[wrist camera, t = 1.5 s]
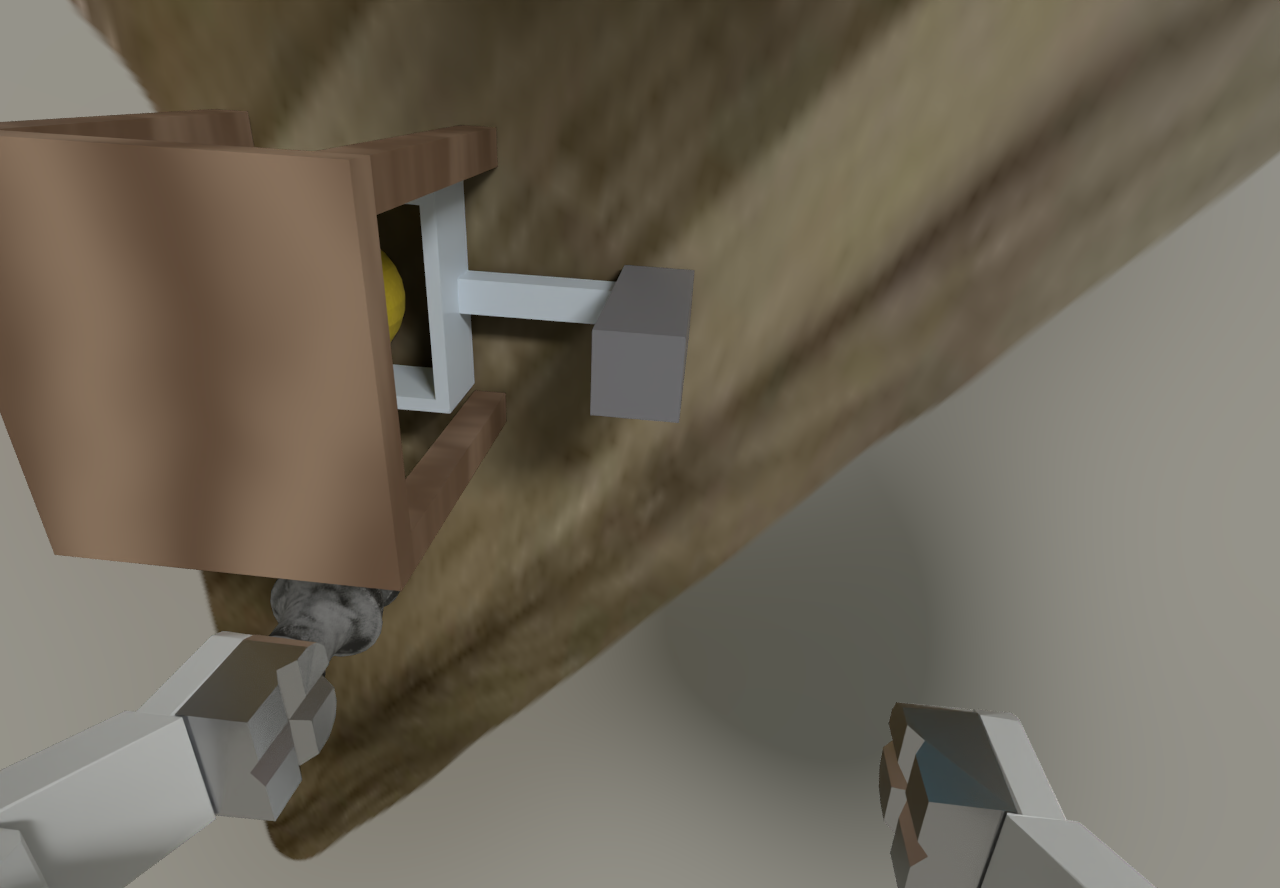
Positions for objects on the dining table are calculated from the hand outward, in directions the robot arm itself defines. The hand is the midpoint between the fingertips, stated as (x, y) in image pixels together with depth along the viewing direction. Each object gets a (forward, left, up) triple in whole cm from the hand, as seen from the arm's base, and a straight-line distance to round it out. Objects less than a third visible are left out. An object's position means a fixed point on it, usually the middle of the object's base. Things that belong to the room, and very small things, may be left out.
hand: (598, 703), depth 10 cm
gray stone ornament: (+3, -24, -24) cm, 34 cm away
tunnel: (-8, -11, -24) cm, 28 cm away
